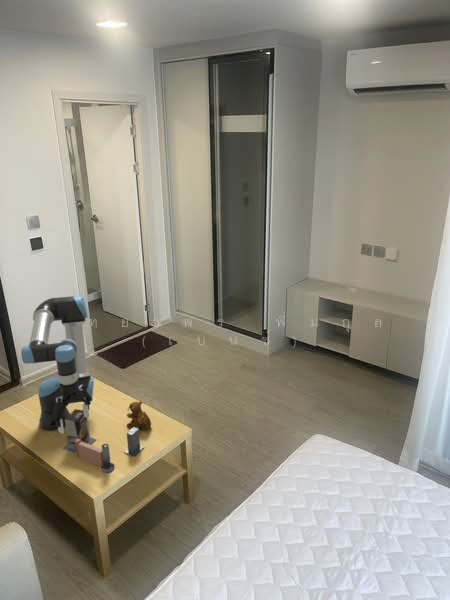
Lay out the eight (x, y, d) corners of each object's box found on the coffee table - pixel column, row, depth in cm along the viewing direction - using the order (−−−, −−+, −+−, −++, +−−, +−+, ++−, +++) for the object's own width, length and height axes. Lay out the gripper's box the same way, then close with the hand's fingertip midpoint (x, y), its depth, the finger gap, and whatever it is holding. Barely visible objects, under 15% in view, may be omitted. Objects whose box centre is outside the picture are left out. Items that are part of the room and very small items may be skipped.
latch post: (124, 453, 209) (122, 433, 205) (133, 444, 215) (132, 425, 211) (134, 456, 206) (133, 437, 202) (144, 447, 212) (142, 428, 208)
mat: (62, 448, 212) (62, 447, 212) (80, 434, 222) (80, 433, 222) (78, 454, 208) (78, 454, 207) (96, 439, 218) (96, 439, 218)
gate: (105, 463, 201) (103, 447, 198) (102, 466, 199) (100, 450, 196) (79, 453, 207) (77, 438, 204) (76, 456, 205) (74, 440, 202)
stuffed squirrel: (138, 416, 236) (137, 394, 231) (157, 426, 228) (156, 404, 223) (124, 425, 229) (121, 403, 224) (142, 436, 220) (140, 413, 216)
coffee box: (80, 450, 210) (76, 421, 204) (68, 448, 211) (63, 419, 206) (90, 438, 218) (86, 410, 212) (78, 436, 219) (74, 408, 214)
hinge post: (97, 470, 198) (95, 448, 194) (106, 462, 203) (104, 440, 199) (108, 474, 195) (105, 452, 191) (117, 466, 201) (115, 444, 196)
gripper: (48, 396, 177) (55, 442, 184) (97, 371, 197) (102, 413, 204) (37, 391, 181) (44, 436, 188) (86, 367, 201) (90, 408, 208)
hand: (74, 424), depth 196 cm, fingers open, 13 cm apart
